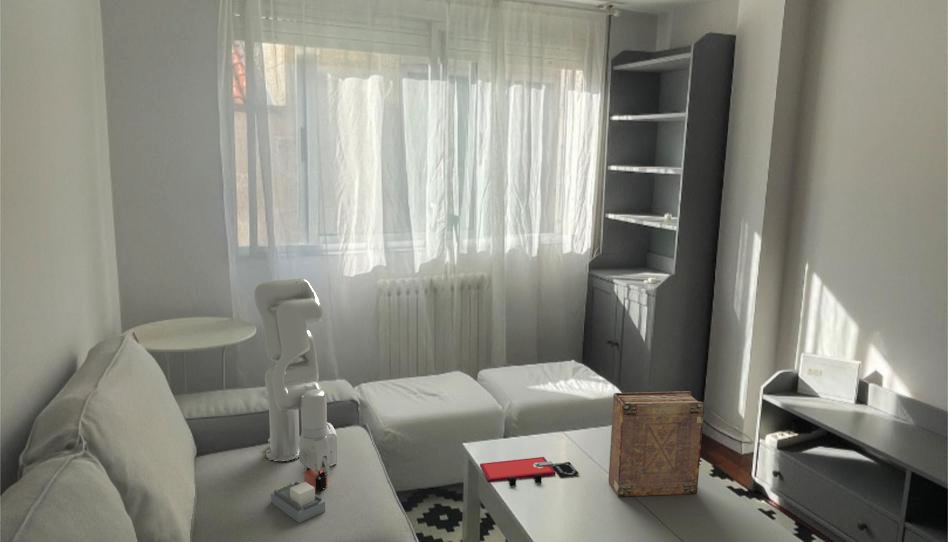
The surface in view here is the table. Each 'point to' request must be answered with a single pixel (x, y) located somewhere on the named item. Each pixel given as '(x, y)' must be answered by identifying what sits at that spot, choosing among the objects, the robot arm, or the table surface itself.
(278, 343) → the robot arm
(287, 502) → the grey tray
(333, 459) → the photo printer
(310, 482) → the red cube
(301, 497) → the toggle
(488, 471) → the red board with handle
